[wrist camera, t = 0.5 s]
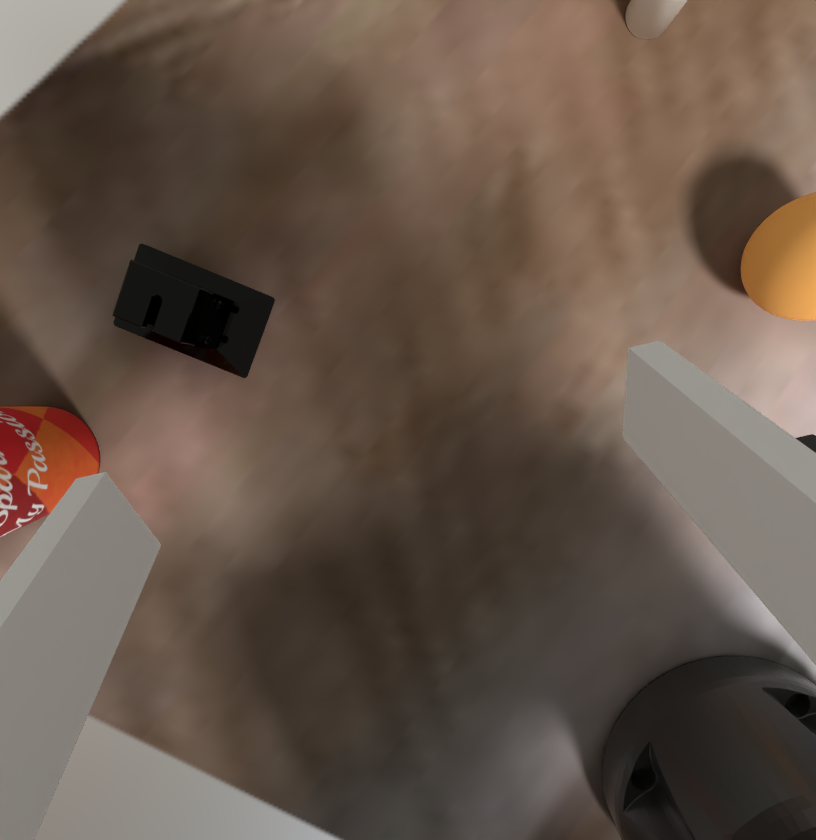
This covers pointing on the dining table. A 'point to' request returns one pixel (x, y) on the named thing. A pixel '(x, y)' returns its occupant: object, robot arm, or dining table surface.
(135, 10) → the dining table surface
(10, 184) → the dining table surface
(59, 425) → the coffee cup
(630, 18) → the pin
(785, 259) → the ball
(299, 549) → the dining table surface
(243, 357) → the dark piece
